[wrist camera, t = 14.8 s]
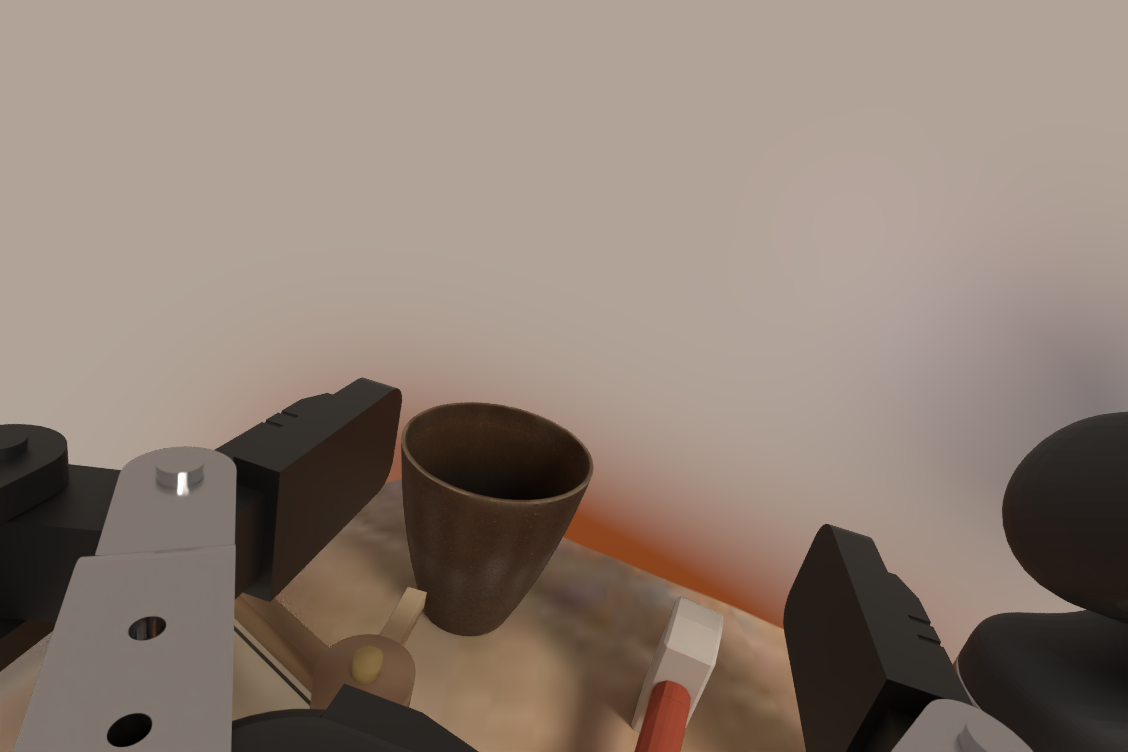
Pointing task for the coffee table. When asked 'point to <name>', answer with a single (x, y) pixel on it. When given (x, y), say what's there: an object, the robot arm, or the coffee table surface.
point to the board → (271, 658)
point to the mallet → (677, 676)
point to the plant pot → (486, 507)
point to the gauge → (372, 659)
